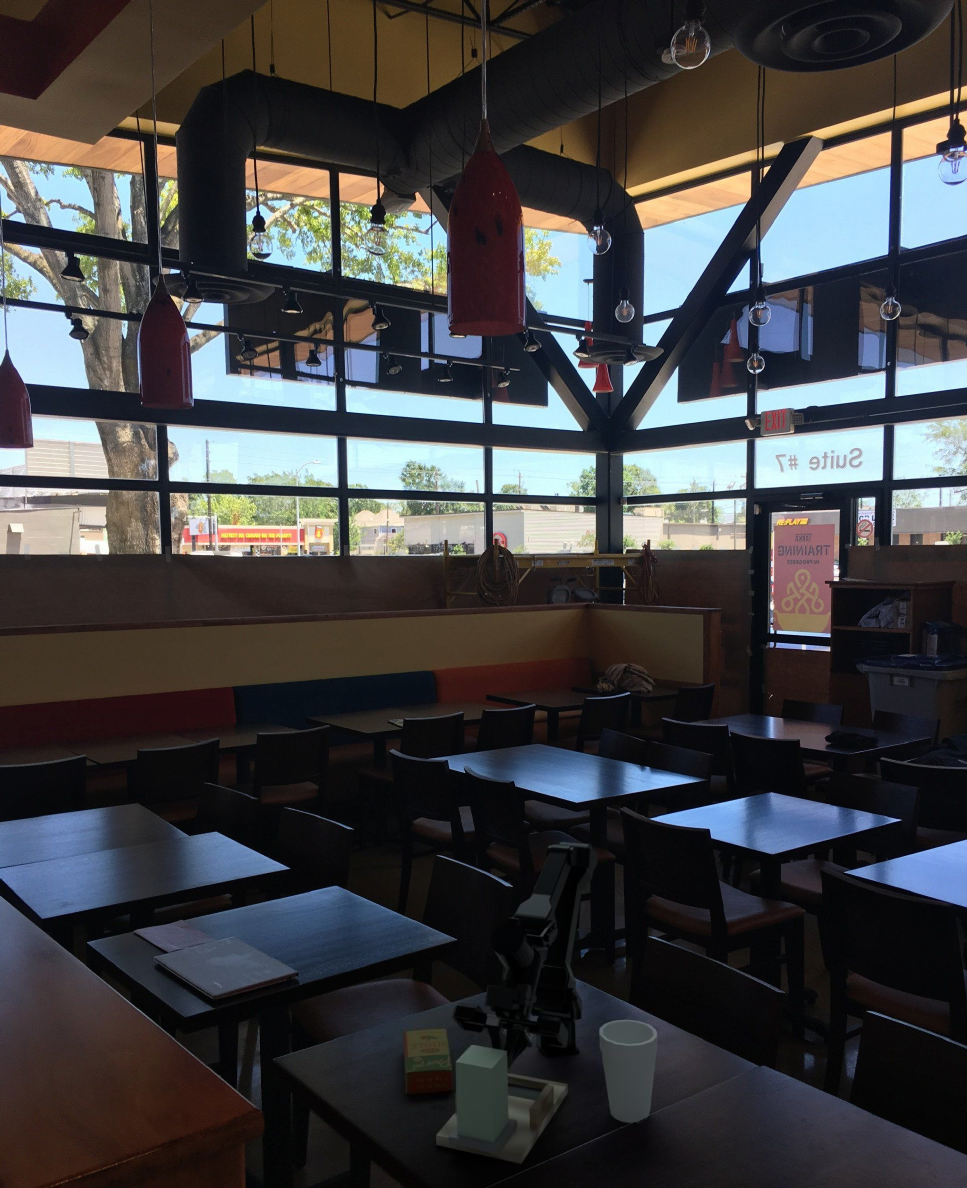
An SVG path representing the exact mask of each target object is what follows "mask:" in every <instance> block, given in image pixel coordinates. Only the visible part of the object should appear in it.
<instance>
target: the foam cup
mask: <svg viewBox="0 0 967 1188" xmlns="http://www.w3.org/2000/svg"><path fill="white" fill-rule="evenodd" d="M598 1031H599V1035H598V1036H599V1049H600V1051H601V1057H602V1058H601V1059H602V1065H603V1070H604V1071H603V1072H604V1076H605V1077H604V1078H605V1083H606V1084H605V1086H606V1090H607V1098H608V1103H609V1104H608V1105H609V1110H610V1115H611V1116H612V1117H613V1118H614V1120H615V1119H616V1121H617V1120H618V1121H619V1122H621V1123H629V1124H633V1123H634V1122H636V1123H638V1122H637V1121H640V1120H642V1119H644V1118H647V1117H648V1116H650V1112H651V1107H652V1106H651V1103H652V1097H653V1095H652V1094H653V1088H654V1087H653V1086H654V1076H655V1066H656V1057H657V1052H658V1048H659V1047H658V1033H657V1029H656V1028H654V1027H653V1026H652V1025H651V1024H649V1023H645V1022H643V1021H641V1020H631V1019H618V1020H617V1019H616V1020H612V1021H609V1022H606V1023H604V1024H603V1025H602V1026H601V1027H600V1028H599V1029H598ZM648 1118H649V1117H648ZM648 1118H647V1119H648ZM634 1124H635V1123H634Z"/></svg>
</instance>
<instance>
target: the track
mask: <svg viewBox="0 0 967 1188" xmlns="http://www.w3.org/2000/svg"><path fill="white" fill-rule="evenodd" d="M568 1085H569V1084H568V1083H563V1082H558V1081H552V1080H547V1079H541V1078H536V1077H531V1076H527V1075H525V1076H524V1075H520V1074H515V1073H508V1115H509V1119H514V1120H517V1127H516V1129H515V1130H514V1132H513V1133H512V1134H511V1136H510V1137H509V1139H508V1140H507V1141H506V1143H505V1144H504V1146H503V1147H502V1148H501V1150H500V1151H499V1153H498V1154H495V1153H491V1152H486V1151H482V1150H477V1149H473V1148H468V1147H464V1146H459V1145H455V1144H450V1143H449V1135H450V1134H451V1133H452V1132H453V1131H454V1129H455V1128H456V1127H457V1098H456V1092H454V1093H455V1094H454V1104H455V1105H454V1108H455V1113H454V1114H453V1115H451V1117H450V1118H449V1119H448V1121H447V1122H446V1123H445V1125H443V1126H442V1128H441V1129H440V1130H439V1131H438V1132H437V1134H435V1137H436V1139H435V1141H436V1144H435V1145H436V1146H440V1147H444V1148H449V1149H453V1150H458V1151H462V1152H466V1153H467V1152H468V1153H471V1154H475V1155H481V1156H484V1157H490V1158H494V1159H498V1160H503V1161H506V1162H510V1163H516V1164H520V1165H522V1163H523V1162H524V1160H525V1159H526V1157H527V1155H528V1154H529V1153H530V1151H531V1149H532V1148H533V1147H534V1145H535V1144H536V1142H537V1141H538V1139H539V1138H540V1136H541V1135H542V1133H543V1132H544V1130H545V1129H546V1127H547V1126H548V1124H549V1123H550V1122H551V1119H552V1118H553V1116H554V1115H555V1114H556V1112H557V1110H558V1109H559V1107H560V1105H561V1104H562V1103H563V1101H565V1098H566V1096H567V1095H568V1093H569V1088H568Z"/></svg>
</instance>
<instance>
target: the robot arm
mask: <svg viewBox="0 0 967 1188" xmlns="http://www.w3.org/2000/svg"><path fill="white" fill-rule="evenodd" d="M598 857H599V856H598V852H597V850H595V849H593V846H592V844H591V843H582V842H569V841H560V843H559V844H552V845H550V844H549V845H548V847H547V851H546V859H545V862H544V865H543V867H542V869H541V872H540V874H539V877H538V879H537V881H536V884H535V887H534V889H533V890H532V894H531V896H530V898H528V899H526V900H525V901H523V902H522V903H521V904H519V906H518V908H517V910H516V911H515V913H514V914H513V915H514V916H512V917H507V921H506V923H504V924H501V925H500V926H499V927H497V928H496V929H495V931H494V932H493V933H492V934H491V938H490V943H491V944H490V945H491V948H492V950H493V951H494V953H495V954H496V955H497V957H498V959H499V961H500V962H501V964H502V966H503V967H504V968H506V969H505V973H504V977H503V978H502V979H500V981H499V983H498V986H497V985H489V984H487V986H486V994H485V1002H484V1006H486V1007H489V1009H490V1010H491V1012H495V1013H494V1014H492V1013H485V1012H484V1011H483V1009H482V1007H481V1006H480V1005H479V1004H475V1003H474V1004H473V1003H468V1002H467V1003H466V1002H462V1001H461V1002H459V1003H458V1004H457V1005H456V1006H455V1007H454V1010H453V1014H452V1019H453V1020H454V1021H455V1023H456V1024H457V1025H458V1027H459V1028H460V1029H461V1030H462V1031H464V1032H470V1033H475V1034H476V1033H477V1034H481V1033H483V1031H484V1032H485V1033H486V1034H487V1036H488V1037H489V1038H490V1043H491V1048H493V1049H498V1050H504V1051H507V1071H508V1070H509V1069H510V1068H511V1066H512V1065H513V1064H514V1063H515V1061H516V1060H517V1059H518V1057H519V1056H520V1055H521V1054H522V1053H523V1052H524V1050H525V1051H526V1049H527V1048H532V1047H533V1042H532V1041H533V1040H532V1039H533V1037H534V1035H535V1036H536V1037H535V1038H536V1039H535V1044H536V1045H537V1047H538V1048H539V1049H540V1050H541V1051H542V1053H543V1054H544V1055H545V1056H546V1057H548V1058H552V1057H556V1056H563V1055H569V1054H574V1053H575V1054H577V1053H579V1052H580V1048H579V1047H578V1045H577V1041H576V1040H577V1039H576V1038H577V1036H576V1035H577V1033H576V1021H578V1020H582V1018H583V1000H582V998H581V996H580V994H579V992H578V990H577V989H576V987H577V982H576V978H575V976H574V973H573V971H572V968H571V961H572V956H573V955H572V954H573V949H574V942H575V936H576V929H577V923H578V916H579V911H580V905H581V904H580V903H581V898H582V894H583V893H582V892H583V891H584V889H585V888H586V887H587V886H588V884H589V883H590V882H591V881H592V879H593V876H594V871H595V869H596V868H597V866H598V860H599V859H598ZM534 947H538V948H545V949H546V948H547V949H546V950H547V951H546V955H545V959H544V960H543V957H542V956H541V953H540V952H539V951H538V950H537V949H536V948H534ZM531 1017H537V1018H536V1021H535V1020H534V1021H533V1020H531ZM505 1034H506V1035H505Z"/></svg>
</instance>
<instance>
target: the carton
mask: <svg viewBox="0 0 967 1188" xmlns="http://www.w3.org/2000/svg"><path fill="white" fill-rule="evenodd" d="M447 1033H448V1032H447V1029H446V1028H432V1029H431V1028H430V1029H421V1030H420V1029H418V1030H417V1029H416V1030H406V1031H404V1030H403V1033H402V1038H403V1040H402V1041H403V1059H404V1065H403V1066H404V1081H405V1082H404V1083H405V1085H404V1086H405V1089H404V1090H405V1091H404V1093H406V1094H405V1095H407V1094H408V1095H417V1094H418V1095H419V1094H427V1093H429V1094H430V1093H440V1092H441V1091H443V1092H450V1091H449V1090H452V1091H454V1075H453V1065H452V1059H451V1053H450V1052H451V1051H450V1047H449V1040H448V1035H447ZM416 1093H417V1094H416ZM441 1093H442V1092H441Z"/></svg>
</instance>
